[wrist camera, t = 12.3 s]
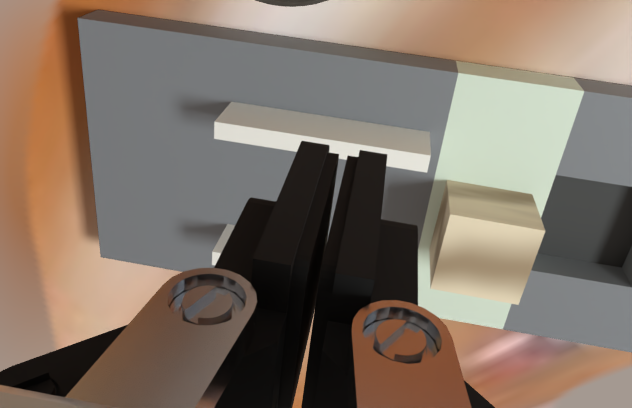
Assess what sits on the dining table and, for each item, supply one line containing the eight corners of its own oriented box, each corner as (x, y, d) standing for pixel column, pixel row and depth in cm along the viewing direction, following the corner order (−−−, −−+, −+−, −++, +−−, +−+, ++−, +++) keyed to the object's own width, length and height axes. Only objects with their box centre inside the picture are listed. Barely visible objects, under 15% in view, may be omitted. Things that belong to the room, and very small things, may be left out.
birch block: (446, 179, 42) (450, 214, 37) (532, 194, 41) (545, 231, 37) (429, 249, 45) (430, 288, 40) (508, 263, 44) (518, 305, 40)
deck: (98, 9, 43) (45, 30, 37) (742, 101, 39) (801, 142, 33) (116, 238, 53) (77, 285, 46) (631, 329, 49) (661, 392, 43)
